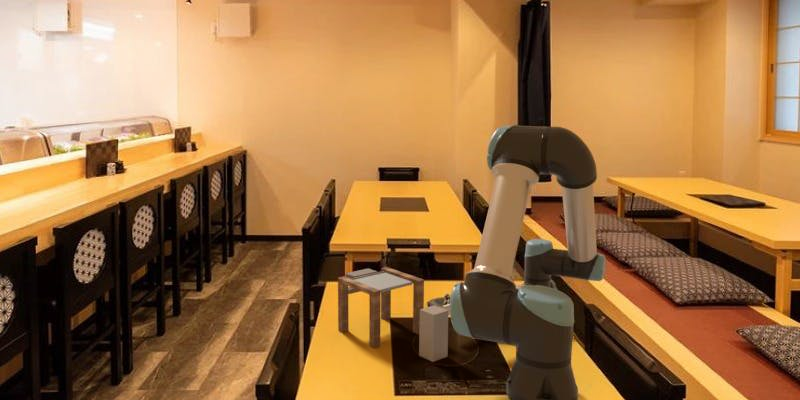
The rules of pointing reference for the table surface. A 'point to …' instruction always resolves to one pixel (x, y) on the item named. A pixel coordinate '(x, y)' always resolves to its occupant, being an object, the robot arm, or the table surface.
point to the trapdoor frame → (377, 303)
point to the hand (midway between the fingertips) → (461, 318)
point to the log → (440, 301)
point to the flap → (378, 279)
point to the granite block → (433, 333)
